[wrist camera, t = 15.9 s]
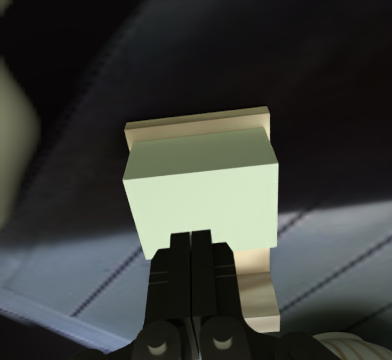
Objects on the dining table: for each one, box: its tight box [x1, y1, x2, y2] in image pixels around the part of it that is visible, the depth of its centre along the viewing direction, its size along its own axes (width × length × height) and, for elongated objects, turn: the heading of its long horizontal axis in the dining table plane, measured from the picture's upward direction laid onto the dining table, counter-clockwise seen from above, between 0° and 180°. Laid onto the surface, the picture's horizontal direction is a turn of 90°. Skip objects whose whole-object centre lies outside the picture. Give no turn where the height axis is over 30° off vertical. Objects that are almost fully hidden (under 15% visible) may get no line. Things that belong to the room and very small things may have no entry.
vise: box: [124, 106, 280, 333], centre depth 36 cm, size 24×13×8 cm, turn 7°
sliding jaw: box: [123, 128, 278, 259], centre depth 32 cm, size 9×12×6 cm
